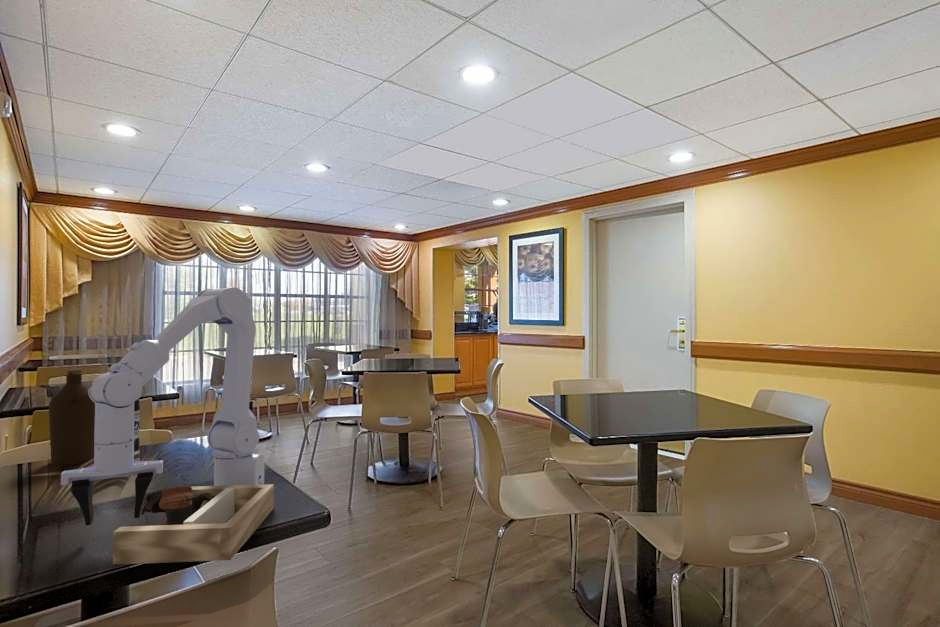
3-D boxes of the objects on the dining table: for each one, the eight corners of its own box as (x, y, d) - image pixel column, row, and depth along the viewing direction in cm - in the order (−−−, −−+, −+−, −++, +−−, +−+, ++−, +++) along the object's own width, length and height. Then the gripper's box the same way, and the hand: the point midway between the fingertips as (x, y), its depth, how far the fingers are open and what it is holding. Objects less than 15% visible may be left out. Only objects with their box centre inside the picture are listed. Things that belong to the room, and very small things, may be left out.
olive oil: (106, 457, 143) (107, 368, 144) (65, 468, 133) (66, 371, 134) (80, 454, 147) (81, 367, 147) (38, 464, 137) (39, 370, 137)
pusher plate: (234, 513, 99) (234, 487, 99) (193, 552, 82) (193, 521, 82) (226, 513, 99) (226, 487, 99) (183, 553, 82) (183, 521, 82)
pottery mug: (135, 544, 86) (133, 495, 89) (154, 549, 94) (151, 503, 97) (213, 521, 90) (208, 474, 93) (225, 527, 98) (219, 484, 101)
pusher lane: (273, 509, 102) (273, 484, 102) (230, 560, 80) (230, 527, 80) (182, 512, 101) (182, 486, 101) (112, 564, 79) (113, 531, 79)
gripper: (164, 432, 97) (163, 505, 96) (68, 441, 90) (67, 519, 89) (161, 440, 90) (161, 518, 90) (58, 449, 84) (56, 534, 83)
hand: (113, 519), depth 89 cm, fingers open, 6 cm apart
